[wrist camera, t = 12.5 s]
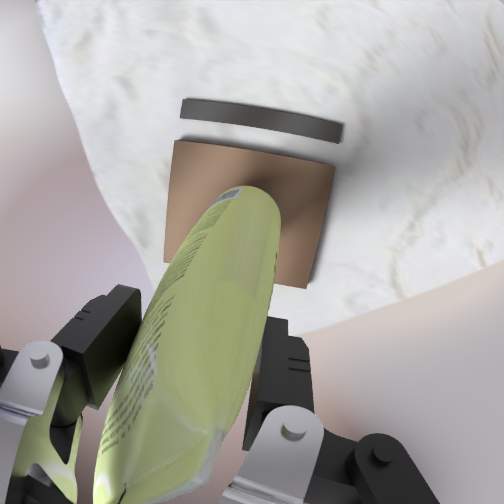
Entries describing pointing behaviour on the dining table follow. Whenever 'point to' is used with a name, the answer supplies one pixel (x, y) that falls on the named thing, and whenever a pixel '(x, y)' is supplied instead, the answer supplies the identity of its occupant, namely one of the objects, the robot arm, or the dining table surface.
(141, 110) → the dining table surface
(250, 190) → the tube
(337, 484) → the robot arm
